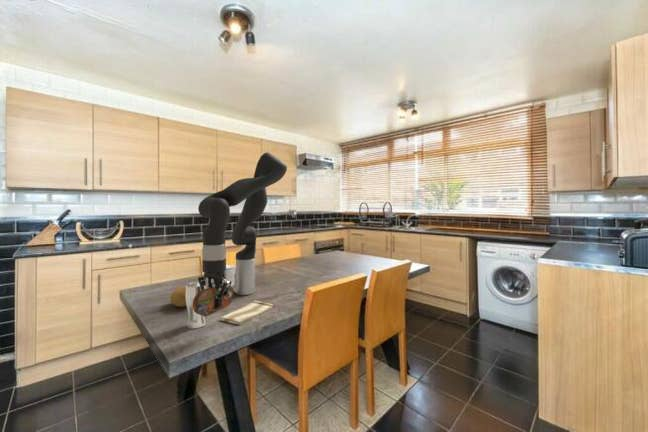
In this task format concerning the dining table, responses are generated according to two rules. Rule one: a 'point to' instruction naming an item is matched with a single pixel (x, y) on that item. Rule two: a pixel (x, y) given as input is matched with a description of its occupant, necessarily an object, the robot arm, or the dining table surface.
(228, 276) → the light bulb box
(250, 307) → the board
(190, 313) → the beer glass
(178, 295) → the potato
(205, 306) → the tin
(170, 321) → the dining table surface
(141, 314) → the dining table surface
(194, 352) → the dining table surface
